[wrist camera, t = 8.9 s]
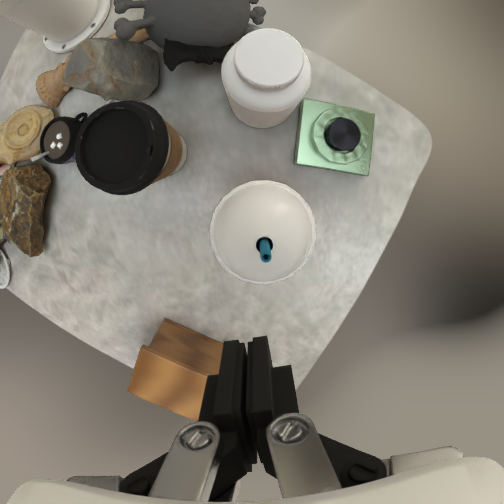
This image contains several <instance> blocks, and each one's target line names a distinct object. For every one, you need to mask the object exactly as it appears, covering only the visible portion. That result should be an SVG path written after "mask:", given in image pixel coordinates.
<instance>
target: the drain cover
mask: <svg viewBox="0 0 504 504" xmlns="http://www.w3.org/2000/svg"><path fill="white" fill-rule="evenodd" d="M0 257H1V259H2V260H1V264H2V265H1V264H0V267H1V272H0V288H1V289H2V288H5V287H6V286H7V285H8V283H9V279H10V271H9V266H8V265H9V264H10V260H9V259H6V257H5V255H4V253H3V252H2V251H1V249H0ZM2 261H3V262H2ZM4 262H5V263H4ZM3 265H4V266H3ZM2 268H3V269H2ZM6 268H7V269H6ZM3 270H4V271H3ZM5 271H6V272H5ZM3 275H4V276H3ZM5 276H6V277H5Z"/></svg>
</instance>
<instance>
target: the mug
mask: <svg viewBox="0 0 504 504" xmlns="http://www.w3.org/2000/svg"><path fill="white" fill-rule="evenodd" d="M111 101H112V100H111ZM109 103H110V100H109V102H107V104H109ZM107 104H105V105H107ZM83 116H84V117H83ZM81 117H83V119H82V120H81V122H80V121H79V119H80V118H81ZM87 117H88V115H87V113H80V114H78V115H77V116H76V117H75V118H71V117H56V118H54V119H52V120H51V121H50V122H48V124H47V125H46V126H45V127H44V129H43V131H42V134H41V137H40V150H41V153H42V154H39V155H37V156H34V157H32V158H30V159H31V160H32V162H33V161H35V160H37V159H39V158H41V157H44V158H45V159H46V160H47V161H48V162H50V163H54V164H66V163H70V162H73V161H75V160H76V159H75V142H76V138H77V135H78V132H79V130H80V128H81V126H82V125H83V123H84V122H85V120H86V119H87Z"/></svg>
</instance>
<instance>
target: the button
mask: <svg viewBox="0 0 504 504" xmlns="http://www.w3.org/2000/svg"><path fill="white" fill-rule="evenodd" d="M360 138H361V133H360V129H359V127H358V126H357V124H356V123H355V122H353V121H352V120H350V119H347V118H340V119H337V120H335V121H333V122H332V123H330V124H329V126H328V127H327V130H326V139H327V141H328V143H329V145H330V146H331V147H332V148H334V149H336V150H338V151H347V150H351V149H354V148H355V147H356V146H357V145H358V144H359V142H360Z"/></svg>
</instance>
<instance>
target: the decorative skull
mask: <svg viewBox="0 0 504 504" xmlns="http://www.w3.org/2000/svg"><path fill="white" fill-rule="evenodd" d="M257 2H258V0H139V1H133V0H114V5H115V9H114V10H115V12H116V13H118V14H122V13H124V12H125V11H126V10H127V9H129V8H144V9H145V11H144V16H143V19H140V20H135V21H129V20H127V19H126V18H119V19H118V20H117V21H116V22H115V24H114V29H115V30H116V37H117V38H118V39H120V40H129V39H131V38H132V37H133V36H134V35H135V33H136V30H138V29H142V28H145V30H146V32H147V34H148V36H149V37H150V38H151V39H152V40H153V41H154V42H155V43H156V44H157V45H158V46H159V47H161V48H162V49H164V52H163V57H164V62H165V65H166V66H167V68H168V69H169V70H170V71H171V72H172V71H174V69H175V68H176V66H177V65H178V64H180V63H182V62H187V61H195V62H196V63H201V62H205V63H206V64H208V65H212V64H213V62H217V63H221V64H222V63H223V60H224V58H225V56H226V54H227V52H228V51H229V50H230V49H231V47H232V46H233V45H234V44H233V43H234V42H235V41H236V40H237V39H238V38H239V37H240V36H242V35H246V34H248V33H250V32H252V31H254V30H255V29H252V28H250V27H249V26H248V22H249V18H251V19H252V20H253V22H254V23H255V24H256V25H259V24H262V23H263V21H264V19H263V17H264V15H265V14H266V11H265V9H264V8H263V7H255V8H253V10H252V11H250V3H251V4H257Z"/></svg>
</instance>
